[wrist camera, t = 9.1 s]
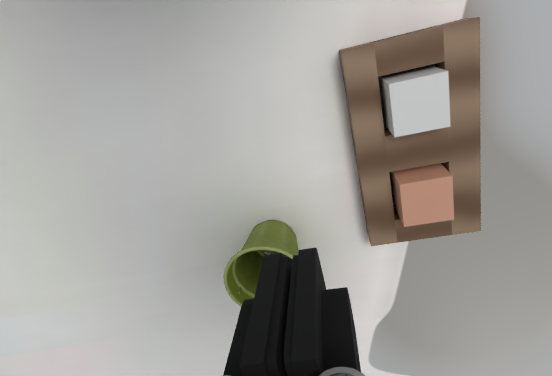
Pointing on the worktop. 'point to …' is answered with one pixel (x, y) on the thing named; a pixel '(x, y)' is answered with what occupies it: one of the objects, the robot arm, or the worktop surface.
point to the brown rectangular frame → (425, 145)
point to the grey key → (416, 101)
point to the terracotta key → (423, 194)
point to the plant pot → (257, 258)
